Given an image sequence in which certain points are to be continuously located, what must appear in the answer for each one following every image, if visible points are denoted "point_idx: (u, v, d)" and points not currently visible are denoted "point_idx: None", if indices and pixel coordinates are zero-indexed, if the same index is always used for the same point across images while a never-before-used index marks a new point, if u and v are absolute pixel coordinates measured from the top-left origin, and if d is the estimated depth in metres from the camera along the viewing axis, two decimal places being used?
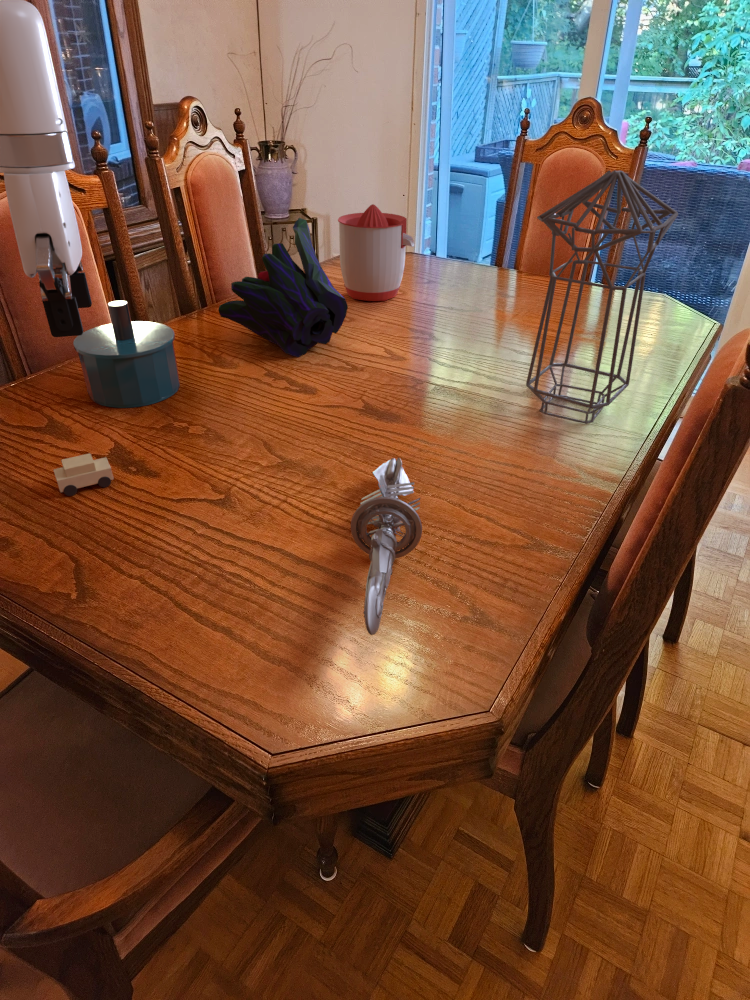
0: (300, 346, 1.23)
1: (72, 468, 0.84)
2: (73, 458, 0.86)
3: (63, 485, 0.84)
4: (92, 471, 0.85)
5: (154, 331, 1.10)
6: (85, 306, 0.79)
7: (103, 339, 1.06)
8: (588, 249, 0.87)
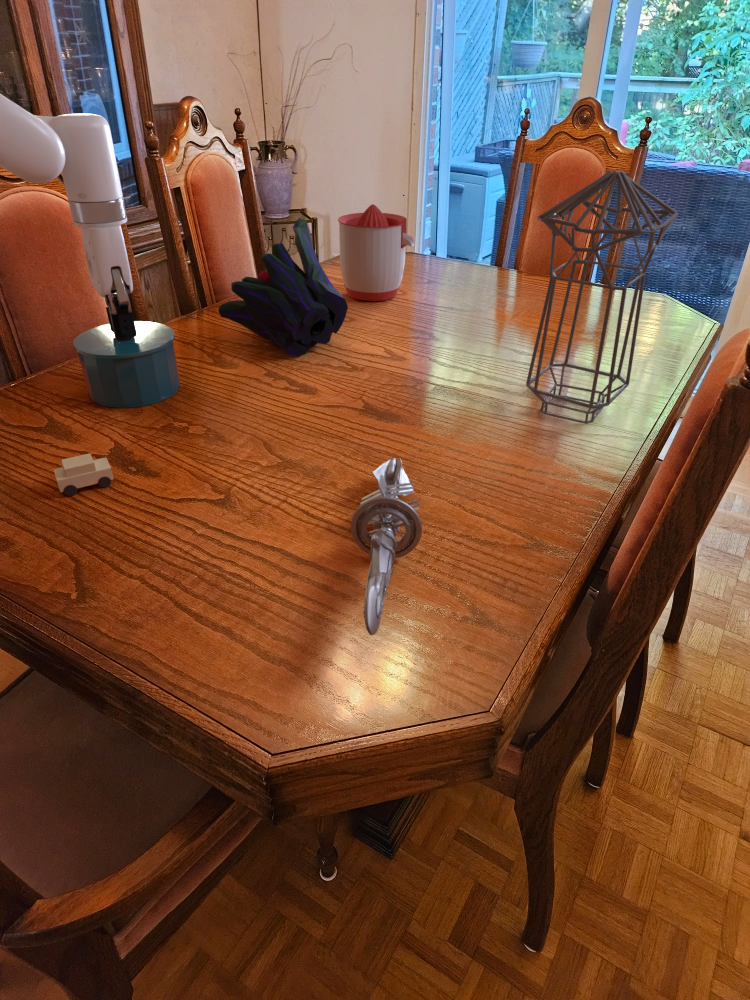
0: (300, 346, 1.23)
1: (72, 468, 0.84)
2: (73, 458, 0.86)
3: (63, 485, 0.84)
4: (92, 471, 0.85)
5: (154, 331, 1.10)
6: None
7: (103, 339, 1.06)
8: (588, 249, 0.87)
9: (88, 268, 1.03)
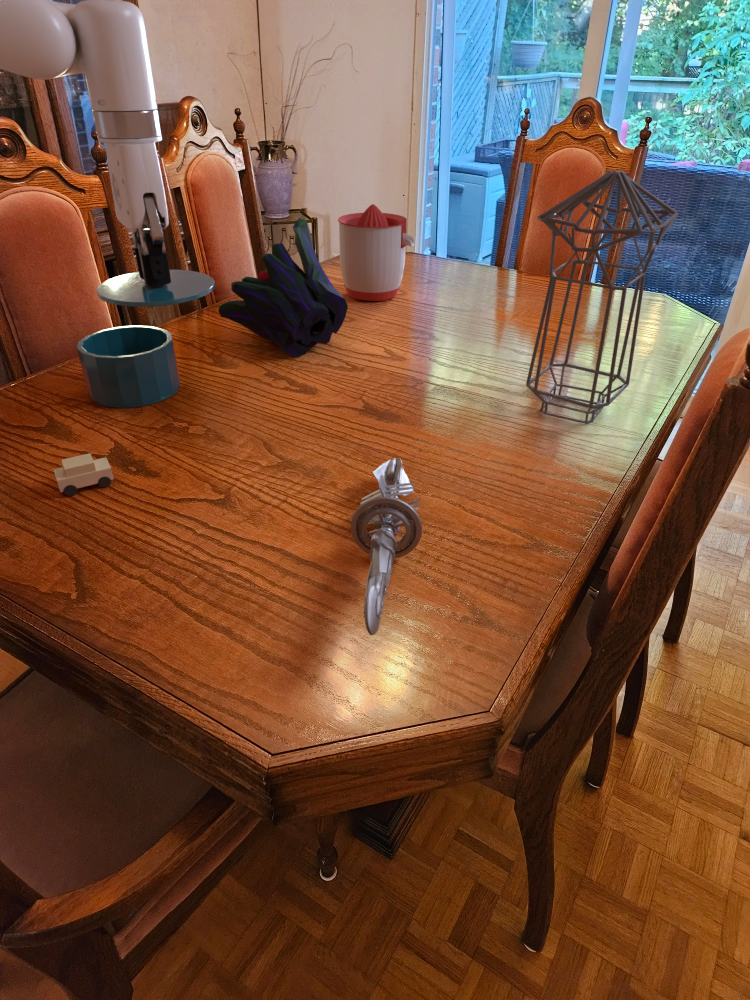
0: (300, 346, 1.23)
1: (72, 468, 0.84)
2: (73, 458, 0.86)
3: (63, 485, 0.84)
4: (92, 471, 0.85)
5: (190, 278, 0.94)
6: None
7: (131, 286, 0.90)
8: (588, 249, 0.87)
9: (114, 200, 0.86)
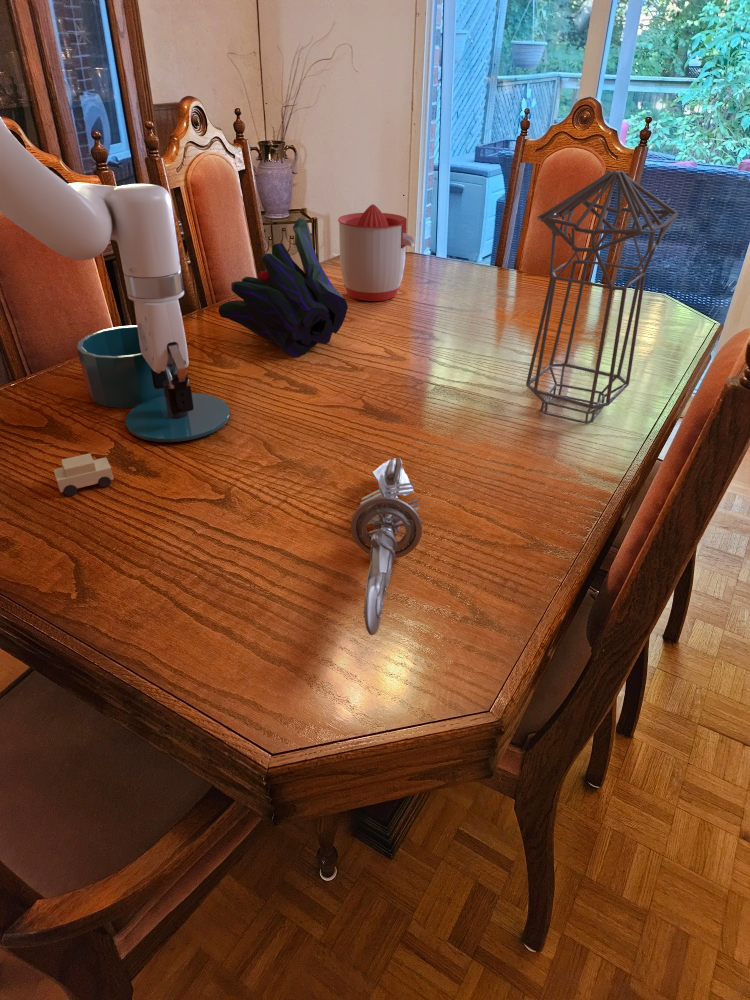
0: (300, 346, 1.23)
1: (72, 468, 0.84)
2: (73, 458, 0.86)
3: (63, 485, 0.84)
4: (92, 471, 0.85)
5: (208, 406, 1.05)
6: None
7: (156, 417, 1.01)
8: (588, 249, 0.87)
9: (140, 340, 0.97)
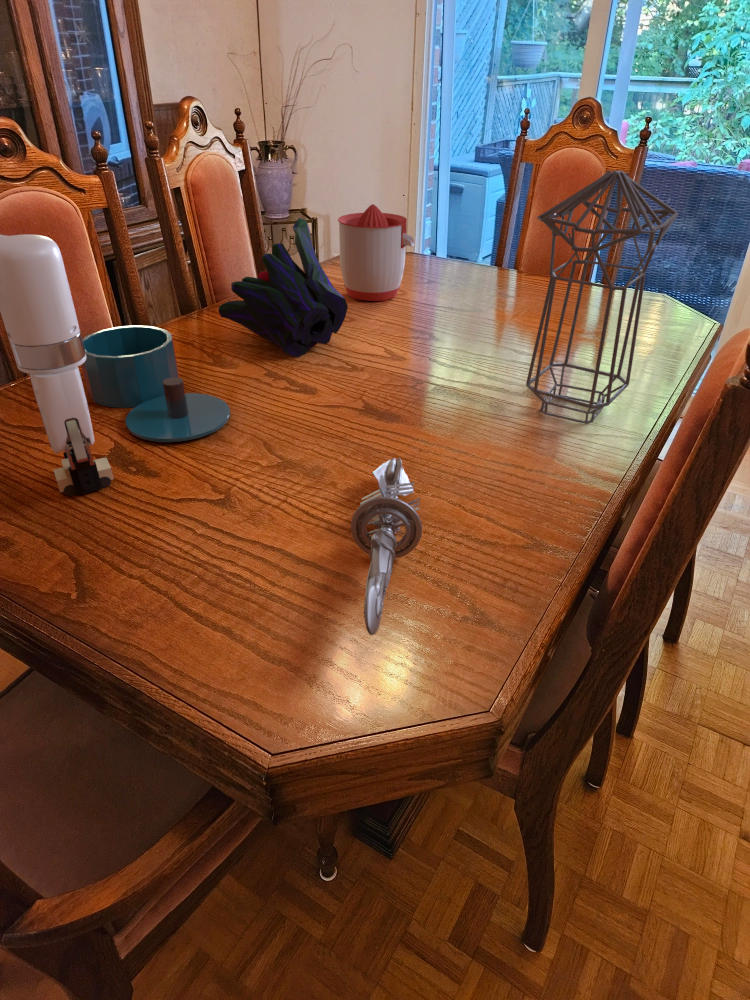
0: (300, 346, 1.23)
1: None
2: None
3: (63, 485, 0.84)
4: None
5: (208, 406, 1.05)
6: None
7: (156, 417, 1.01)
8: (588, 249, 0.87)
9: None
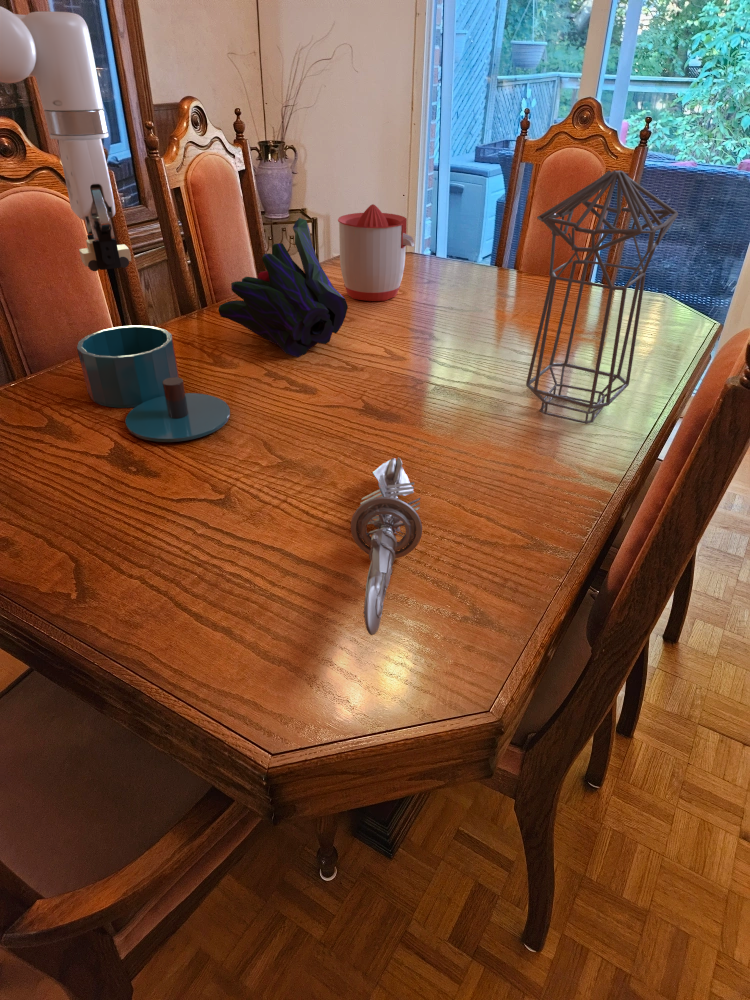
0: (300, 346, 1.23)
1: None
2: None
3: (88, 259, 0.97)
4: None
5: (208, 406, 1.05)
6: None
7: (156, 417, 1.01)
8: (588, 249, 0.87)
9: (68, 191, 0.95)
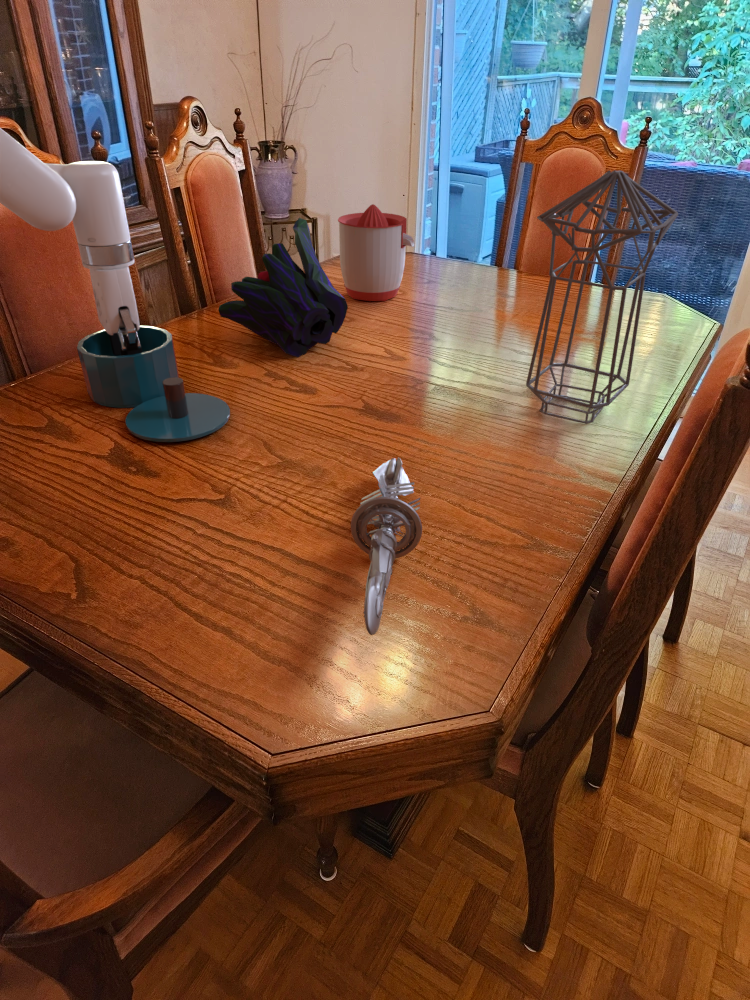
0: (300, 346, 1.23)
1: None
2: None
3: None
4: None
5: (208, 406, 1.05)
6: None
7: (156, 417, 1.01)
8: (588, 249, 0.87)
9: (96, 306, 1.06)
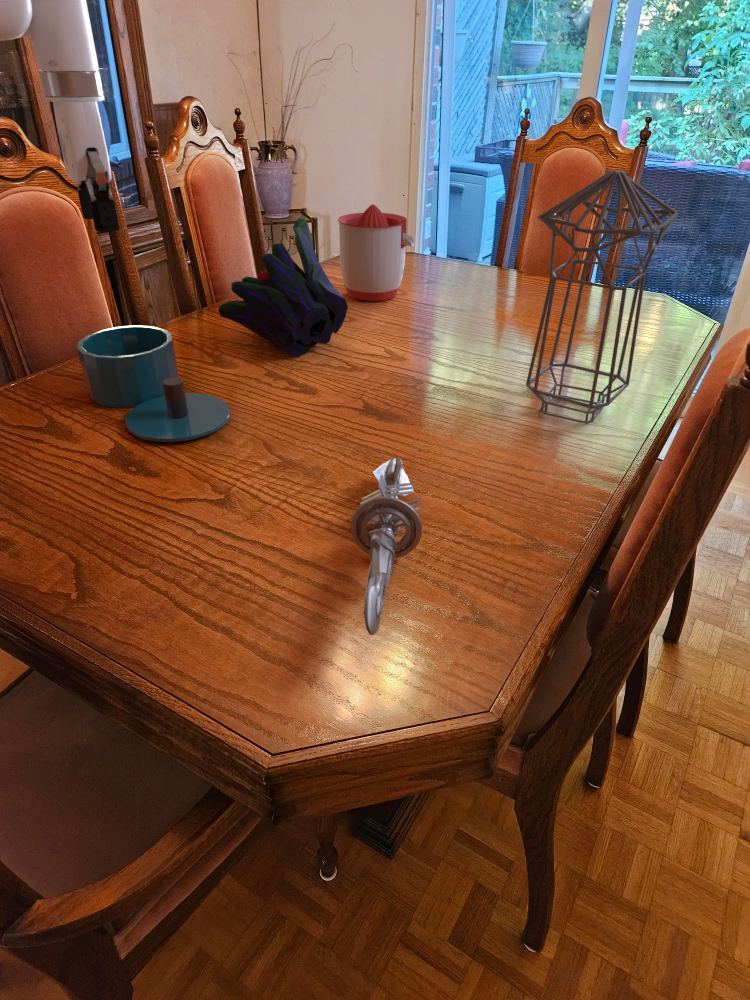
0: (300, 346, 1.23)
1: None
2: None
3: None
4: None
5: (208, 406, 1.05)
6: None
7: (156, 417, 1.01)
8: (588, 249, 0.87)
9: (63, 157, 0.94)
